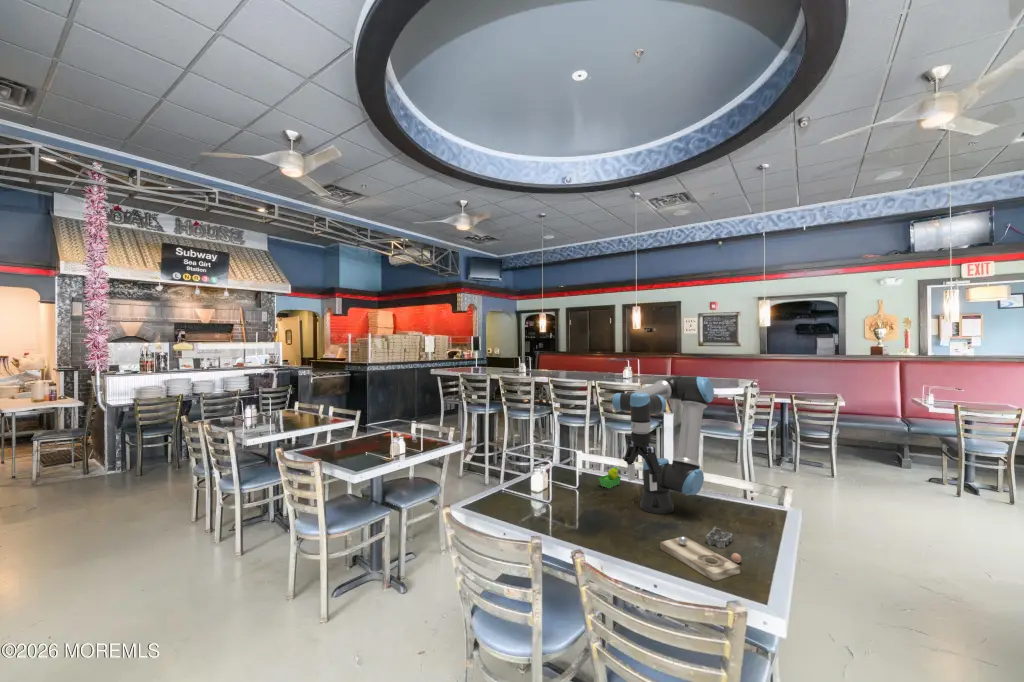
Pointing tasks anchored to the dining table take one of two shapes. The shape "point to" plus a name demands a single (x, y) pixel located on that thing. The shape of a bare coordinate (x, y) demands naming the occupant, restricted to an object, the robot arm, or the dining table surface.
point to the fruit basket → (610, 478)
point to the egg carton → (718, 537)
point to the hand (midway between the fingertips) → (642, 485)
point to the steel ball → (682, 540)
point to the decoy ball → (736, 558)
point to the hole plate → (701, 559)
